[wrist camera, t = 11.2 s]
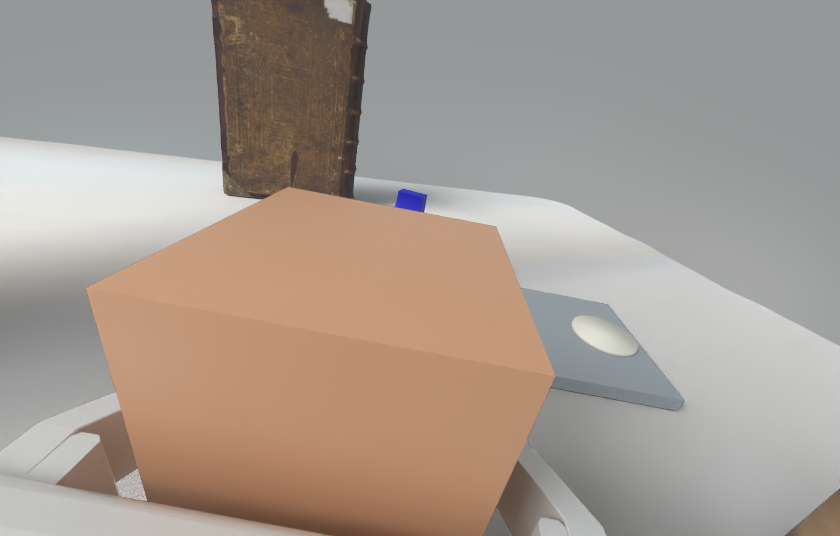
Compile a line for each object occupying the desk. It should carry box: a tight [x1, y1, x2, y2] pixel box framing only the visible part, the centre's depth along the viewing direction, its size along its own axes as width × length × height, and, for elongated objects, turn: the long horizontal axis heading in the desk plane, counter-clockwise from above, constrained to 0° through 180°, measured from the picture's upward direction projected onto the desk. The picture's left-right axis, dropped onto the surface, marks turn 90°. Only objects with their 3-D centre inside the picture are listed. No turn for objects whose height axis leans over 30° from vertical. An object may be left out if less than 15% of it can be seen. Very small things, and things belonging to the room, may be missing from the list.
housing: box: [86, 187, 555, 536], centre depth 10 cm, size 6×6×11 cm
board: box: [521, 288, 684, 411], centre depth 27 cm, size 22×12×7 cm, turn 86°
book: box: [211, 0, 371, 199], centre depth 43 cm, size 17×7×25 cm, turn 93°
